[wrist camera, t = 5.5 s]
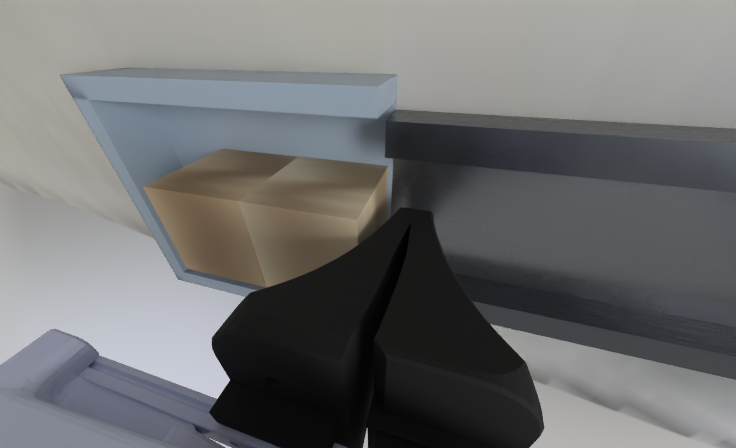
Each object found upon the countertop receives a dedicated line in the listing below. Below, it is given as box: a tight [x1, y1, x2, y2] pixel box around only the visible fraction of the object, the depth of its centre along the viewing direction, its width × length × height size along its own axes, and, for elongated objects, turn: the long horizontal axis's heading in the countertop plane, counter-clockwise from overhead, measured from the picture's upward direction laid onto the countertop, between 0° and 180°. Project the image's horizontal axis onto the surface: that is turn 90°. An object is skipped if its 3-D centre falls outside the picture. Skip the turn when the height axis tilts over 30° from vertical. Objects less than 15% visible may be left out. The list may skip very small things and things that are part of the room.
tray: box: [60, 68, 397, 297], centre depth 13 cm, size 12×11×3 cm
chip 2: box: [239, 156, 388, 287], centre depth 11 cm, size 4×4×4 cm
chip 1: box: [143, 149, 297, 287], centre depth 12 cm, size 4×4×4 cm
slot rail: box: [385, 110, 736, 380], centre depth 10 cm, size 17×8×2 cm, turn 91°
